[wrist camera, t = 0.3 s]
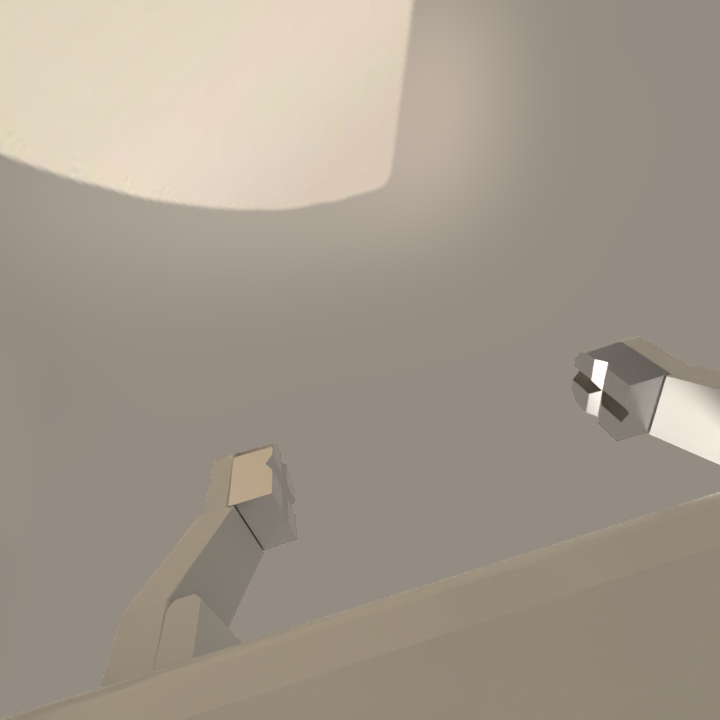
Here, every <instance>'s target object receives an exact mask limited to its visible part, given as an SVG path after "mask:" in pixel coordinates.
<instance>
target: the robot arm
mask: <svg viewBox="0 0 720 720" xmlns="http://www.w3.org/2000/svg"><path fill="white" fill-rule="evenodd" d="M575 367H576V368H577V369H578V370H579V372H578V374H577V375H576V376H575V377H574V379H573V386H572V390H573V393H574V396H575V399H576V401H577V402H578V404H579V406H580V407H581V408H582V409H583V410H584V411H586V412H587V413H590V414H593V415H595V416H598V424H599V425H600V426H601V427H602V428H603V429H604V430H605V431H607V432H608V433H609V434H610V435H611V436H612V437H613V438H614V439H615V440H616V441H620V440H624V439H627V438H630V437H634V436H638V435H642V434H645V433H649V432H650V435H653V436H655V437H658V438H660V439H662V440H664V441H666V442H669V443H671V444H674V445H676V446H678V447H680V448H683V449H685V450H687V451H690V452H692V453H694V454H696V455H699V456H701V457H703V458H706V459H708V460H710V461H712V462H715V463H717V464H719V465H720V371H719V370H714V369H709V368H705V367H700V366H697V367H694V368H692V367H690V366H689V365H687V364H685V363H684V362H682V361H680V360H678V359H677V358H675V357H674V356H672V355H670V354H669V353H667V352H665V351H663V350H662V349H660V348H658V347H657V346H655V345H653V344H652V343H650V342H648V341H647V340H645V339H643V338H642V337H637V336H633V337H630V338H627V339H623V340H620V341H617V342H615V343H611V344H608V345H604V346H601V347H598V348H594V349H591V350H588V351H585V352H581V353H579V354H578V356H577V357H576V360H575ZM294 501H295V495H294V488H293V482H292V478H291V475H290V472H289V470H288V468H287V465H285V464H283V463H281V453H280V451H279V449H278V447H277V445H276V444H274V443H273V444H269V445H266V446H262V447H258V448H254V449H251V450H247V451H243V452H239V453H236V454H234V455H230V456H226V457H222V458H219V459H216V460H215V462H214V463H213V468H212V473H211V479H210V485H209V490H208V496H207V502H206V508H205V514H204V515H201V516H199V517H197V519H196V520H195V521H194V523H193V524H192V525H191V526H190V528H189V529H188V530H187V532H186V533H185V534H184V536H183V537H182V538H181V539H180V541H179V542H178V543H177V545H176V546H175V547H174V548H173V550H172V551H171V552H170V554H169V555H168V556H167V557H166V559H165V560H164V561H163V563H162V564H161V565H160V566H159V568H158V569H157V570H156V572H155V573H154V574H153V575H152V577H151V578H150V579H149V580H148V582H147V583H146V584H145V586H144V587H143V588H142V589H141V591H140V592H139V593H138V595H137V596H136V597H135V598H134V600H133V601H132V602H131V604H130V605H129V606H128V608H127V609H126V610H125V611H124V613H123V614H122V616H121V620H120V623H119V626H118V630H117V633H116V636H115V640H114V643H113V646H112V649H111V653H110V656H109V659H108V662H107V666H106V669H105V673H104V676H103V679H102V682H101V686H100V688H97V689H94V690H91V691H88V692H85V693H82V694H78V695H75V696H72V697H69V698H66V699H63V700H59V701H56V702H53V703H50V704H47V705H43V706H40V707H37V708H34V709H31V710H28V711H24V712H21V713H18V714H15V715H12V716H9V717H6V718H2V719H0V720H720V492H718V493H714V494H711V495H708V496H705V497H702V498H699V499H695V500H692V501H689V502H686V503H683V504H679V505H676V506H673V507H670V508H667V509H664V510H660V511H657V512H654V513H651V514H648V515H645V516H641V517H638V518H636V519H632V520H629V521H626V522H623V523H619V524H616V525H613V526H610V527H607V528H604V529H601V530H597V531H594V532H591V533H588V534H585V535H582V536H578V537H575V538H572V539H569V540H566V541H563V542H559V543H556V544H553V545H550V546H547V547H544V548H540V549H537V550H534V551H531V552H528V553H525V554H522V555H519V556H515V557H512V558H509V559H506V560H503V561H500V562H496V563H493V564H490V565H487V566H484V567H481V568H478V569H474V570H471V571H468V572H465V573H462V574H459V575H455V576H452V577H449V578H446V579H443V580H440V581H436V582H433V583H430V584H427V585H424V586H421V587H417V588H414V589H411V590H408V591H405V592H402V593H398V594H395V595H392V596H389V597H386V598H383V599H380V600H376V601H373V602H370V603H367V604H364V605H360V606H357V607H354V608H351V609H348V610H345V611H342V612H338V613H335V614H332V615H329V616H326V617H322V618H319V619H316V620H313V621H310V622H307V623H303V624H300V625H297V626H294V627H291V628H288V629H284V630H281V631H278V632H275V633H272V634H269V635H266V636H262V637H259V638H256V639H253V640H250V641H246V642H243V643H242V642H241V641H240V640H239V639H238V638H237V637H236V636H235V635H234V633H233V632H232V631H231V630H230V629H229V628H228V627H229V625H230V623H231V621H232V619H233V616H234V615H235V612H236V610H237V608H238V606H239V604H240V602H241V600H242V598H243V596H244V594H245V591H246V589H247V587H248V585H249V583H250V581H251V579H252V577H253V575H254V573H255V570H256V568H257V566H258V564H259V562H260V560H261V558H262V556H263V554H264V552H263V551H264V550H266V549H270V548H272V547H276V546H279V545H281V544H285V543H287V542H290V541H293V540H296V539H297V528H296V515H295V513H294V511H293V509H292V507H291V506H292V504H293V503H294Z"/></svg>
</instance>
